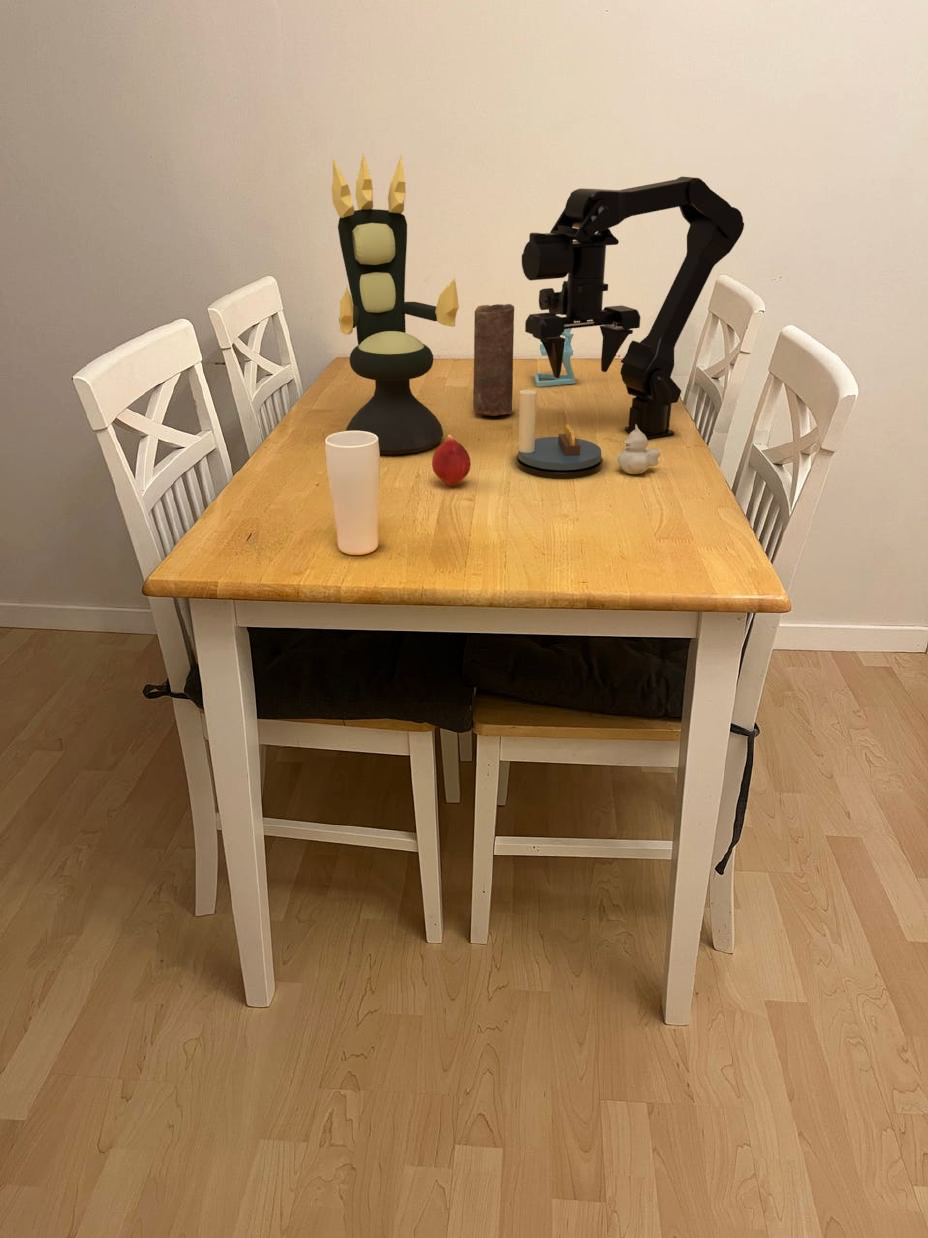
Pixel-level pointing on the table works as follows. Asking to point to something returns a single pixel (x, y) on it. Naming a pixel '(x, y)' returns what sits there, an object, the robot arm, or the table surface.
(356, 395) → the table surface
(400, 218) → the black throne
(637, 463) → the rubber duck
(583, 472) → the turntable base
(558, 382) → the chair
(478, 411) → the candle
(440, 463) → the onion
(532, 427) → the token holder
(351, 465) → the drinking glass
